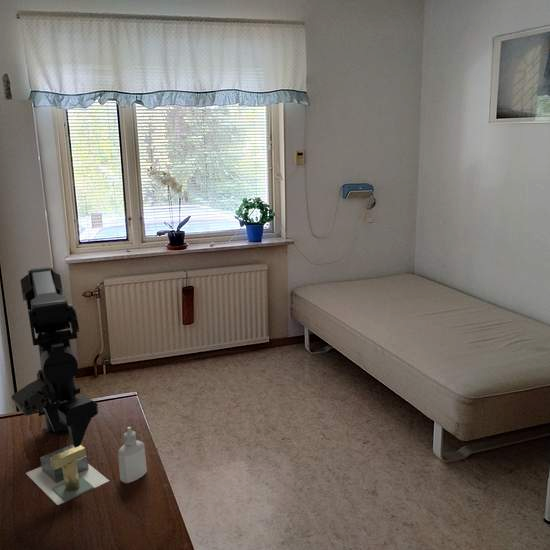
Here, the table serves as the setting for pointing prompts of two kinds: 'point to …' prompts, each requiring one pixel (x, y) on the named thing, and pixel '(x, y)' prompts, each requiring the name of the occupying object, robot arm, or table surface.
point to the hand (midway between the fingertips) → (66, 438)
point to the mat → (69, 495)
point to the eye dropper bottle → (131, 458)
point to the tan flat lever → (69, 466)
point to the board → (47, 483)
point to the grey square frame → (58, 473)
